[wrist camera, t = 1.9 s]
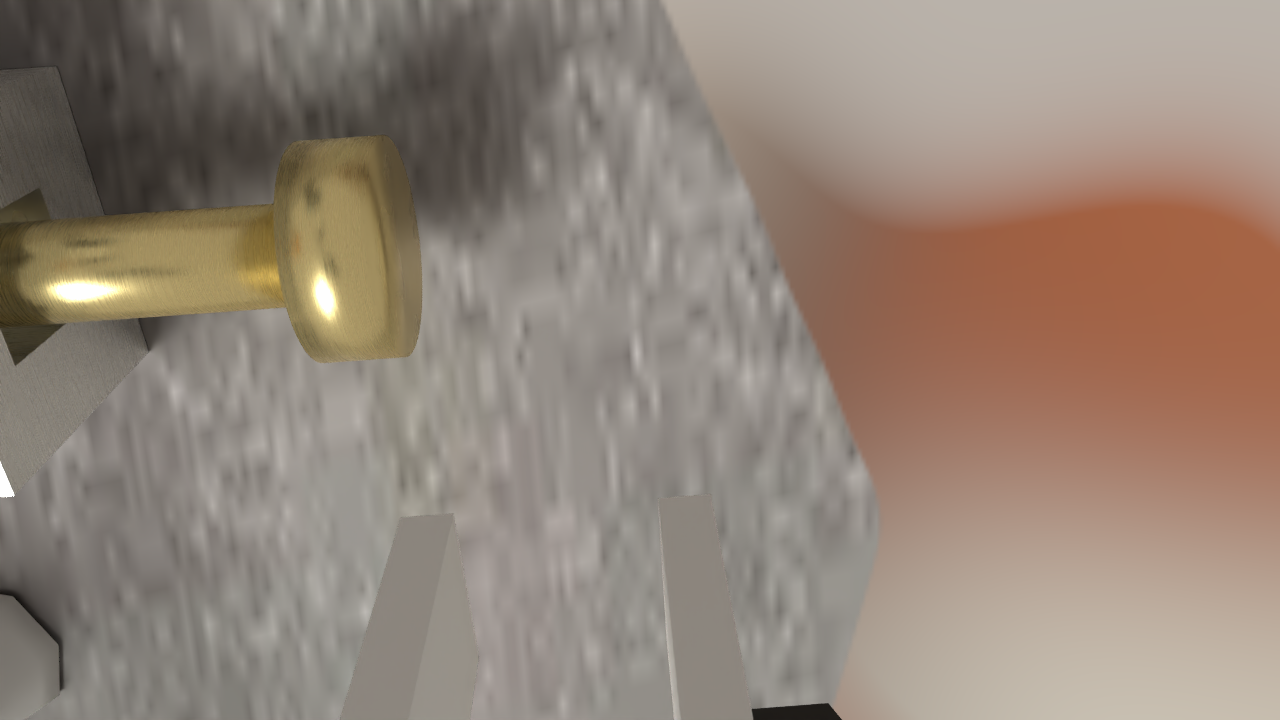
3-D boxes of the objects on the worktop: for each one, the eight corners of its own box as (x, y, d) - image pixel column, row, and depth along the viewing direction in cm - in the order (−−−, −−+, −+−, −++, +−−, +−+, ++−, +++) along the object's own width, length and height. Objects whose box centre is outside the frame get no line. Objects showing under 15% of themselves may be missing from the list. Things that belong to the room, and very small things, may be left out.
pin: (-129, 149, 29) (-304, 215, 24) (398, 112, 29) (351, 169, 24) (-49, 339, 32) (-188, 439, 26) (431, 304, 32) (396, 396, 27)
